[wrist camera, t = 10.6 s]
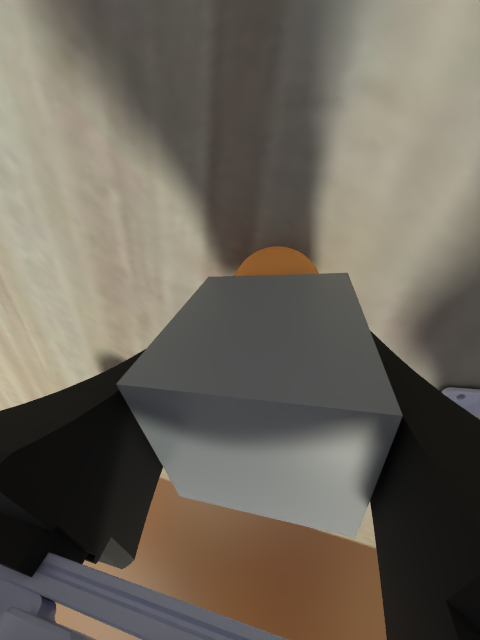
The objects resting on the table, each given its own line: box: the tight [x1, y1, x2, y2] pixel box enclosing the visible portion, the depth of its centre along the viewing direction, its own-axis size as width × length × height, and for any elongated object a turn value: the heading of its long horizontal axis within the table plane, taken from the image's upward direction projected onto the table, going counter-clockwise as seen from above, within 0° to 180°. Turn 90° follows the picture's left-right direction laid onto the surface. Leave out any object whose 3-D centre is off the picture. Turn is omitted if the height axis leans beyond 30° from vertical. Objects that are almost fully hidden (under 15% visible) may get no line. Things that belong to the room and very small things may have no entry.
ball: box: [235, 246, 319, 276], centre depth 13 cm, size 5×5×5 cm
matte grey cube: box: [116, 273, 403, 538], centre depth 9 cm, size 6×6×7 cm
